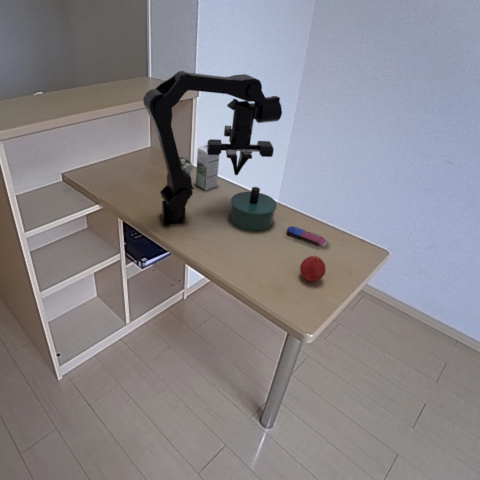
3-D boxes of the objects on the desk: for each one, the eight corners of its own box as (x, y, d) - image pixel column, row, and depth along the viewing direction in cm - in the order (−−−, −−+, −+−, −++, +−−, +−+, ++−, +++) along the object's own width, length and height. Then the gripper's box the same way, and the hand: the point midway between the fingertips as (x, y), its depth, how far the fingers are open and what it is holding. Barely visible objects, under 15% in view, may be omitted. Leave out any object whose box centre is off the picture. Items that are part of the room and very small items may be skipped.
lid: (239, 218, 106) (242, 201, 103) (224, 196, 117) (226, 180, 113) (283, 214, 108) (287, 197, 105) (264, 193, 119) (267, 177, 116)
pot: (238, 234, 110) (241, 216, 106) (224, 212, 120) (227, 195, 116) (278, 230, 111) (282, 212, 108) (261, 209, 122) (264, 192, 118)
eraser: (327, 243, 106) (329, 238, 105) (322, 250, 103) (324, 244, 102) (289, 229, 111) (291, 224, 110) (284, 235, 109) (285, 230, 108)
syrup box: (217, 186, 135) (221, 148, 127) (204, 191, 132) (207, 152, 124) (207, 181, 139) (210, 143, 130) (194, 184, 136) (197, 147, 128)
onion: (293, 273, 95) (300, 248, 90) (315, 272, 95) (323, 247, 91) (302, 288, 90) (310, 263, 86) (325, 287, 91) (334, 262, 86)
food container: (188, 197, 128) (190, 171, 122) (171, 196, 129) (172, 169, 123) (193, 182, 138) (194, 157, 132) (177, 180, 139) (177, 155, 133)
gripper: (271, 116, 110) (262, 165, 119) (208, 114, 111) (204, 163, 120) (278, 128, 101) (268, 180, 110) (209, 126, 102) (205, 177, 111)
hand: (235, 174), depth 113 cm, fingers closed
